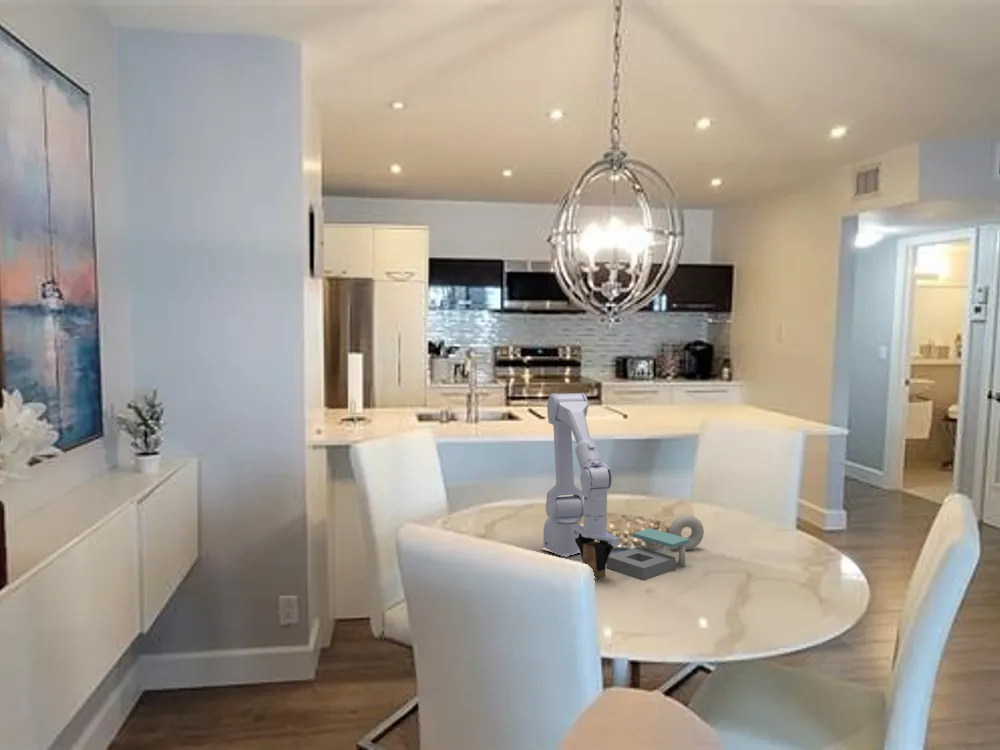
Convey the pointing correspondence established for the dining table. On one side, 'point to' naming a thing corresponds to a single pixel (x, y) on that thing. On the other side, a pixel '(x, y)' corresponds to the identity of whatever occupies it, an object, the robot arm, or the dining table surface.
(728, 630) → the dining table surface
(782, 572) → the dining table surface
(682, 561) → the teal mini table
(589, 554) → the peg
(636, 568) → the socket block
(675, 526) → the donut
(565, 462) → the robot arm
